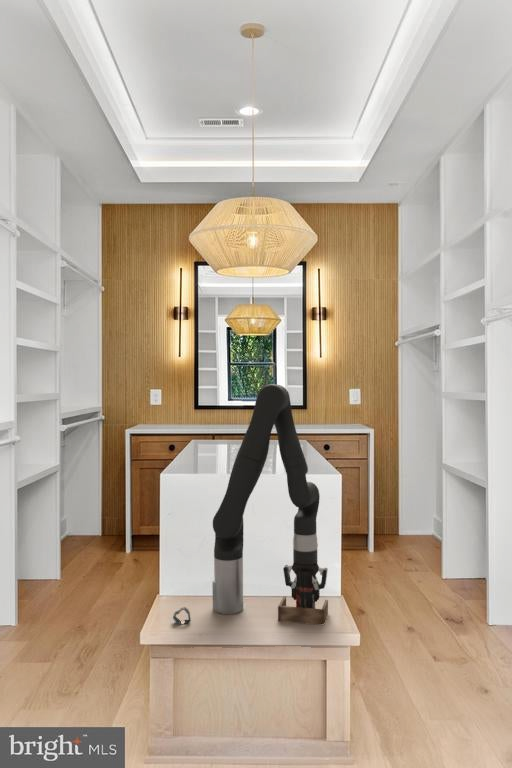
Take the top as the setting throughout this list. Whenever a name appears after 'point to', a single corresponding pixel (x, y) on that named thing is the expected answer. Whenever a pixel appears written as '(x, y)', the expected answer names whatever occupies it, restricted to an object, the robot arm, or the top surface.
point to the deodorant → (305, 589)
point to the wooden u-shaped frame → (302, 613)
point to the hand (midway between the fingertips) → (305, 599)
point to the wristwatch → (178, 613)
